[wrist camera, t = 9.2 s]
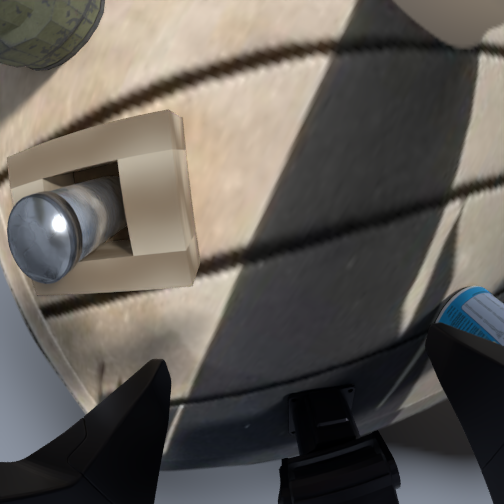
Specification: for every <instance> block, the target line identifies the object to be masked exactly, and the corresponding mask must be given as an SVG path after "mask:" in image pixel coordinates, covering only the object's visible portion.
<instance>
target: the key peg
mask: <svg viewBox="0 0 504 504" xmlns="http://www.w3.org/2000/svg"><path fill="white" fill-rule="evenodd" d="M126 226H127V220H126V215H125V209H124V203H123V196H122V190H121V183H120V178H119V177H116V176H105V177H101V178H97V179H93V180H89V181H85V182H81V183H77V184H73V185H70V186H66V187H62V188H59V189H55V190H52V191H43V192H38V193H35V194H31V195H28V196H26V197H23V198H22V199H20V200H19V201H18V202H17V203H16V204H15V206H14V207H13V209H12V211H11V213H10V216H9V220H8V227H7V235H8V242H9V247H10V250H11V253H12V255H13V258H14V260H15V261H16V263H17V265H18V266H19V267H20V269H21V270H22V271H23V272H24V273H25V274H26V275H27V276H28V277H30V278H31V279H32V280H34V281H36V282H39V283H43V284H51V283H55V282H57V281H59V280H60V279H62V278H63V277H64V276H65V275H66V274H67V273H69V272H70V271H71V270H72V269H73V268H74V267H75V266H76V264H77V263H78V262H79V261H80V260H82V259H83V258H84V257H85V256H87V255H88V254H89V253H91V252H92V251H93V250H95V249H96V248H97V247H98V246H100V245H101V244H102V243H104V242H105V241H106V240H108V239H109V238H110V237H112V236H113V235H115V234H116V233H117V232H119V231H120V230H121V229H123V228H124V227H126Z"/></svg>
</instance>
